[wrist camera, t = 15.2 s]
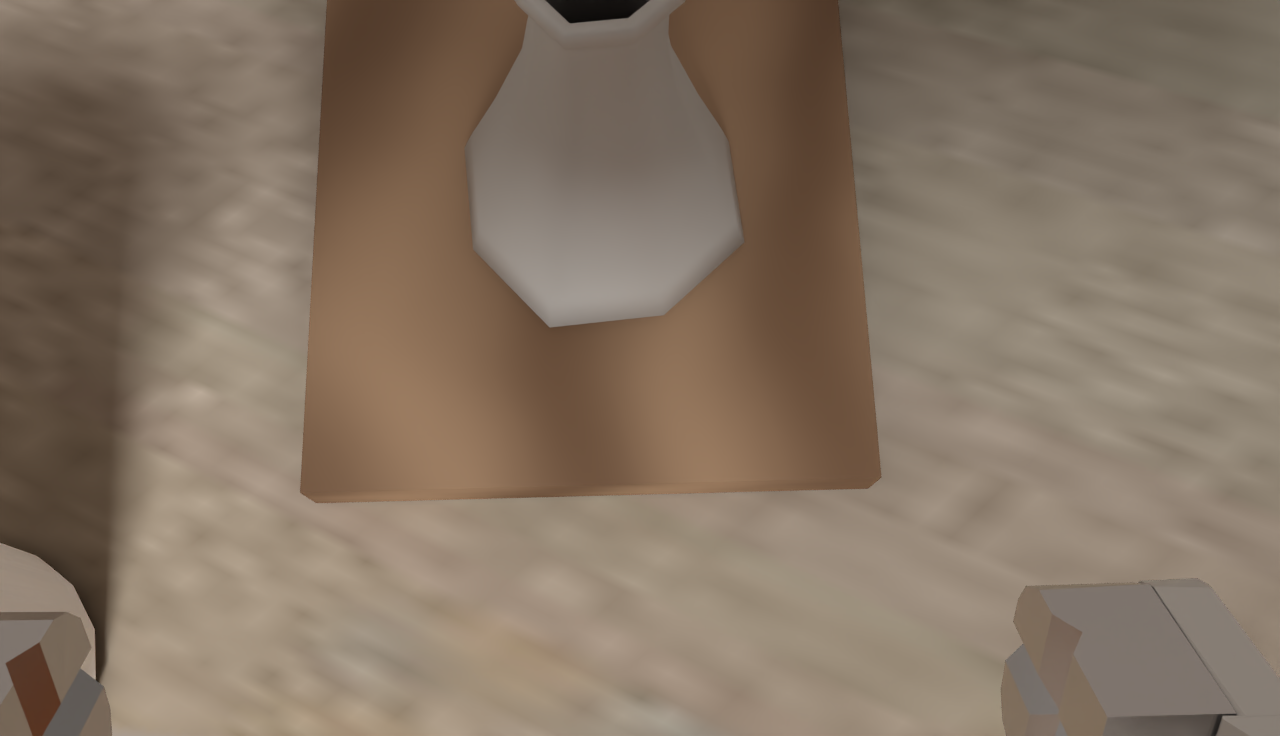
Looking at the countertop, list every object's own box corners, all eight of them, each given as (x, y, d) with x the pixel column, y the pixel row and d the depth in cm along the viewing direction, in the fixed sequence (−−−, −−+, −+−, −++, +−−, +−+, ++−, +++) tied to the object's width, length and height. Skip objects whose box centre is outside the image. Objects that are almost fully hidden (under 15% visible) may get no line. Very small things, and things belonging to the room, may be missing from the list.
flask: (420, 137, 30) (327, -131, 20) (667, 37, 31) (692, -264, 21) (531, 377, 28) (488, 209, 18) (790, 262, 29) (877, 46, 19)
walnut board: (823, -19, 33) (833, -52, 32) (868, 488, 29) (881, 477, 27) (341, -13, 33) (329, -45, 31) (316, 502, 28) (300, 492, 27)
